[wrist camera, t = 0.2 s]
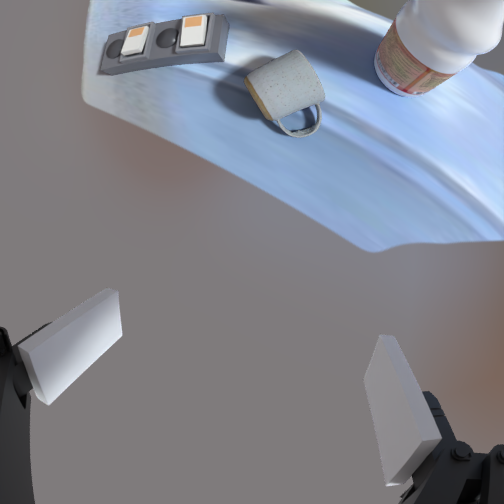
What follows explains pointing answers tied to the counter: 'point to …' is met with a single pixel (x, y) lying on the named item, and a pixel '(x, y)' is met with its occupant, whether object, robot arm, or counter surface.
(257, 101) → the ceramic mug
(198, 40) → the rocker outlet
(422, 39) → the fruit juice
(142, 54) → the power strip
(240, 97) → the counter surface
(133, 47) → the rocker outlet
